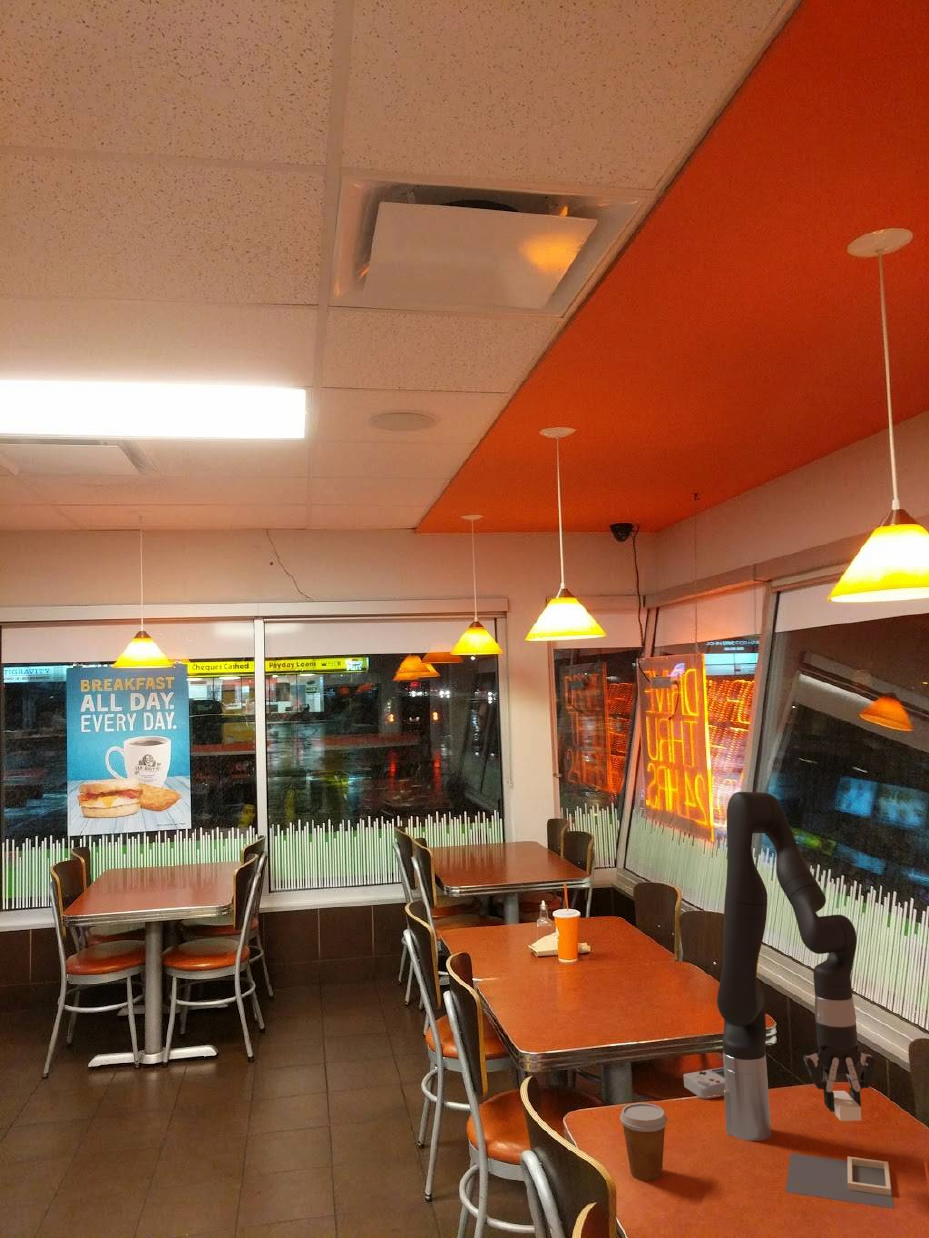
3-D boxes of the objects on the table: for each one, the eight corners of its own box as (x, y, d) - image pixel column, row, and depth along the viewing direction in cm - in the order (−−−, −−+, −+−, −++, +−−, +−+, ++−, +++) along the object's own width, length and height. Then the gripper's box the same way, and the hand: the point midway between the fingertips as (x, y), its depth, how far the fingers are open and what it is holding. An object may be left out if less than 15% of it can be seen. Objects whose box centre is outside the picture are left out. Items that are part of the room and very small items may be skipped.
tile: (825, 1104, 183) (824, 1090, 183) (845, 1103, 183) (844, 1090, 183) (840, 1120, 175) (839, 1107, 176) (861, 1120, 175) (860, 1106, 175)
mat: (785, 1194, 175) (785, 1185, 175) (790, 1155, 191) (789, 1146, 191) (894, 1211, 168) (893, 1201, 168) (889, 1169, 184) (888, 1160, 184)
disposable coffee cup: (672, 1165, 188) (669, 1104, 190) (667, 1187, 179) (663, 1123, 181) (626, 1160, 191) (623, 1099, 193) (619, 1181, 182) (616, 1118, 184)
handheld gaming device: (683, 1088, 229) (682, 1072, 229) (733, 1079, 233) (732, 1064, 234) (703, 1102, 220) (702, 1086, 221) (754, 1093, 225) (753, 1076, 225)
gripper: (864, 1012, 185) (872, 1101, 183) (793, 1014, 185) (800, 1102, 183) (879, 1024, 177) (887, 1117, 175) (805, 1025, 178) (812, 1118, 176)
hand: (843, 1109), depth 179 cm, fingers closed on tile, 4 cm apart
